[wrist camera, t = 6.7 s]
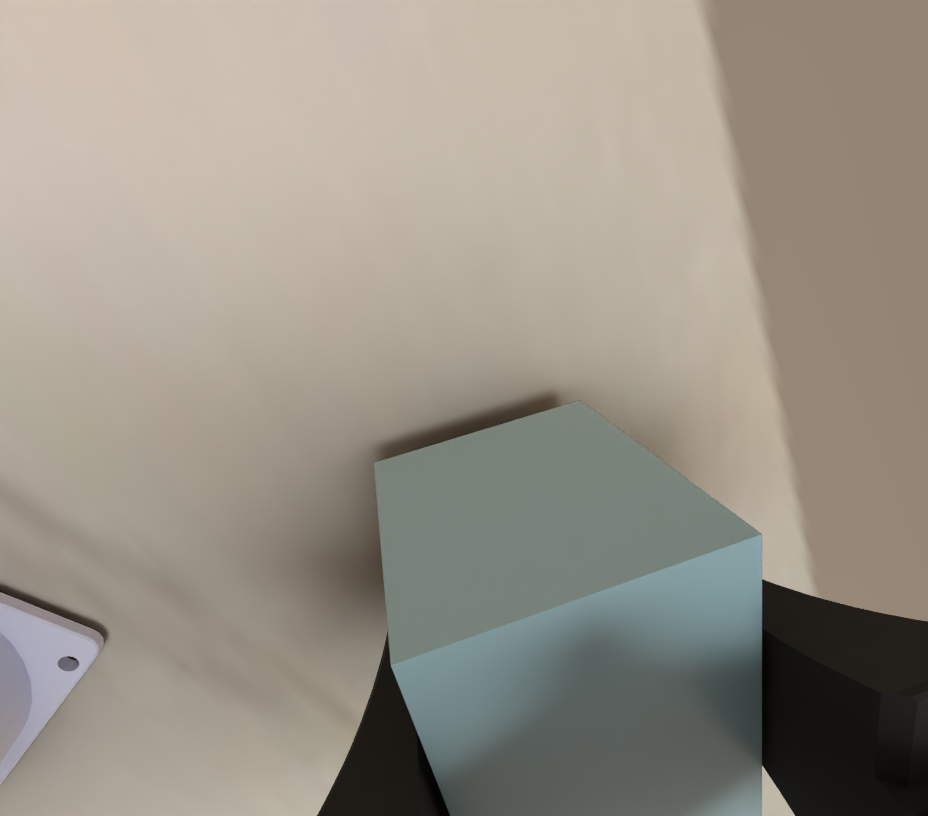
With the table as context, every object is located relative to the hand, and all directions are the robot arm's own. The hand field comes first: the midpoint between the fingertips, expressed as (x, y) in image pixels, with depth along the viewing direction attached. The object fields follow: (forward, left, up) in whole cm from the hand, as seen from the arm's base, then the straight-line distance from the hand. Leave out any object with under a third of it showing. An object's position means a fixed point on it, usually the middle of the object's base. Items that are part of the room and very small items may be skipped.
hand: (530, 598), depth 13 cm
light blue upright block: (0, 0, -2) cm, 2 cm away
